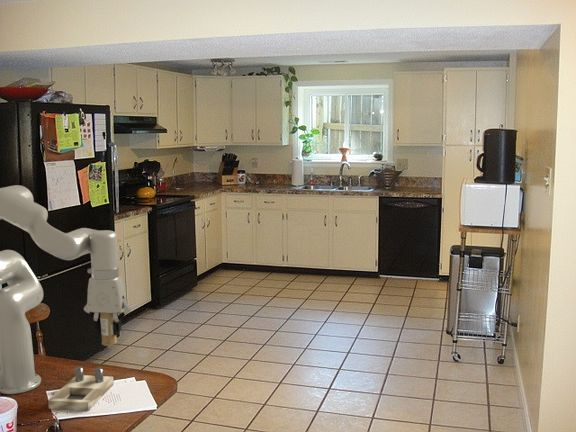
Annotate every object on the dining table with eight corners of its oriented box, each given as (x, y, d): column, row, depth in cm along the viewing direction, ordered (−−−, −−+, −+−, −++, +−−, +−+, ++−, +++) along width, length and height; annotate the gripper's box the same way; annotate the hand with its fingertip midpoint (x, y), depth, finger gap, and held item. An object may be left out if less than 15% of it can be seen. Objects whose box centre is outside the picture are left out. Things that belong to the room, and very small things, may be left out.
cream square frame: (48, 408, 176) (46, 387, 175) (77, 382, 193) (75, 362, 192) (88, 410, 175) (86, 389, 174) (113, 384, 191) (112, 364, 190)
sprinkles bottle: (119, 344, 183) (117, 300, 180) (104, 347, 180) (101, 303, 178) (114, 339, 186) (111, 296, 184) (99, 342, 184) (96, 299, 181)
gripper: (71, 275, 177) (75, 336, 180) (128, 277, 175) (131, 339, 178) (83, 268, 184) (87, 327, 187) (138, 270, 182) (140, 329, 185)
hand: (108, 332), depth 183 cm, fingers closed on sprinkles bottle, 4 cm apart
